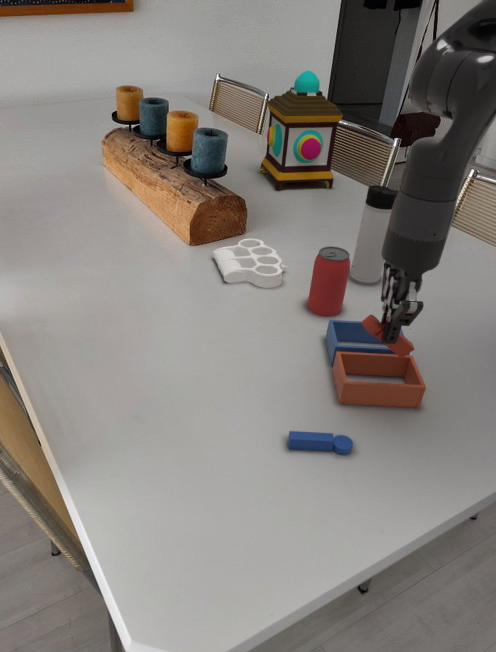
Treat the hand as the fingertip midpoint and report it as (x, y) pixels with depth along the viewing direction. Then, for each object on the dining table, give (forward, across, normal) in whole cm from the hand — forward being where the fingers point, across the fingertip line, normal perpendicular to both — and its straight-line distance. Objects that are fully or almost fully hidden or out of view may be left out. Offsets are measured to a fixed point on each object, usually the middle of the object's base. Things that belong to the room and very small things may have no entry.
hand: (386, 338), depth 80 cm
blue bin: (+10, +9, 0) cm, 14 cm away
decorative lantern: (+10, +99, +5) cm, 100 cm away
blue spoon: (+10, -14, +10) cm, 20 cm away
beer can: (+10, +24, +5) cm, 27 cm away
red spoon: (0, 0, +1) cm, 1 cm away
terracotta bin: (+10, 0, 0) cm, 10 cm away
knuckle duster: (+10, +39, +19) cm, 45 cm away
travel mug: (+10, +37, -5) cm, 39 cm away
